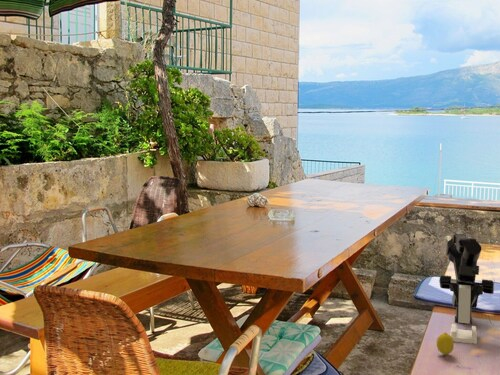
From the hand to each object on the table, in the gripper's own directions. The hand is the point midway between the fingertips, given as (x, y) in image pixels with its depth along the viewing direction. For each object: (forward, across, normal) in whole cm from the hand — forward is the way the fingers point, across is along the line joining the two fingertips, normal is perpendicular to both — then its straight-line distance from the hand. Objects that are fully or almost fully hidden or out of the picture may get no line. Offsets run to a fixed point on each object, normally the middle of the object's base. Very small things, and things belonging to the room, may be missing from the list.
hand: (464, 304), depth 217 cm
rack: (+8, 0, +10) cm, 13 cm away
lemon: (+22, -4, -3) cm, 22 cm away
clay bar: (+4, 0, +6) cm, 7 cm away
